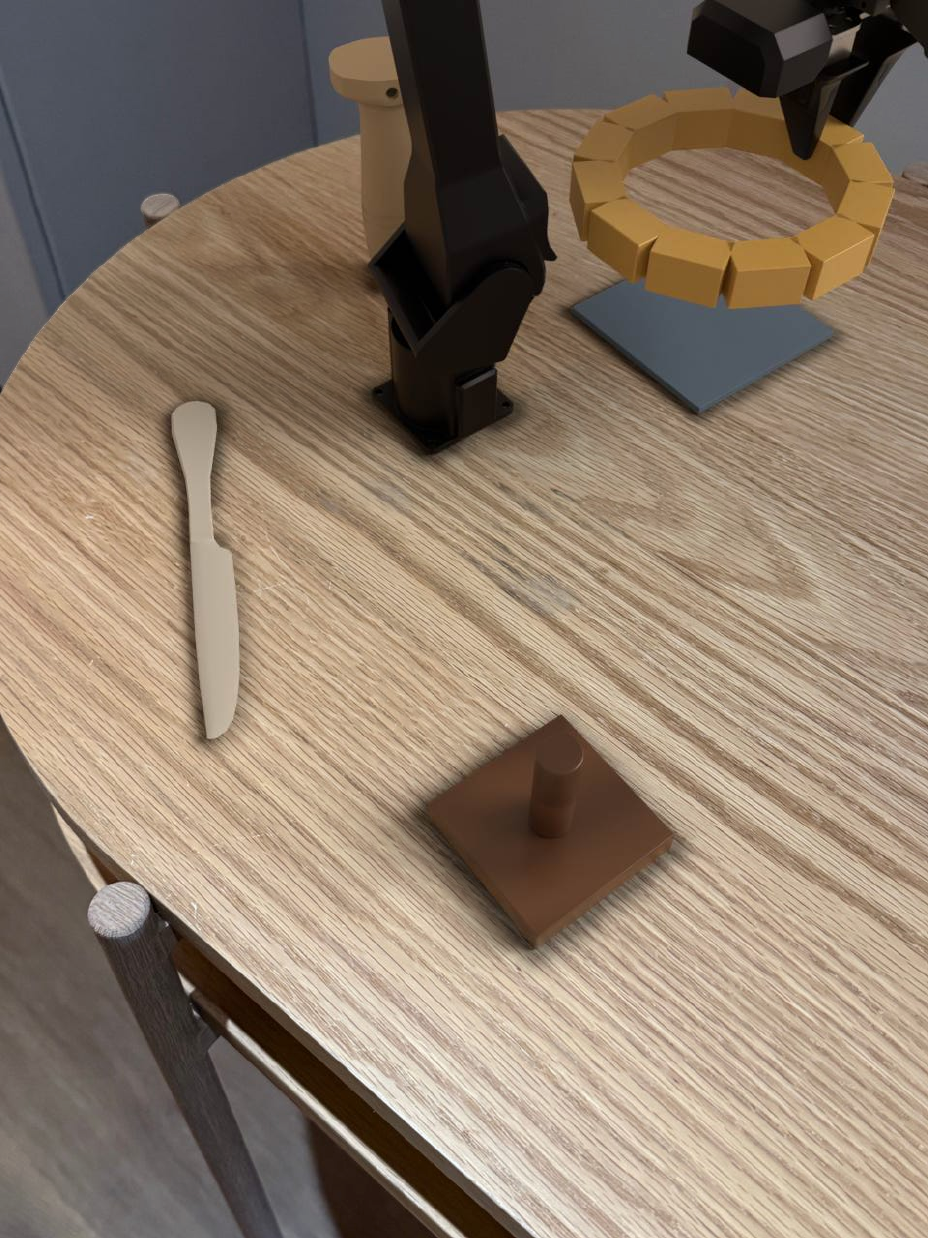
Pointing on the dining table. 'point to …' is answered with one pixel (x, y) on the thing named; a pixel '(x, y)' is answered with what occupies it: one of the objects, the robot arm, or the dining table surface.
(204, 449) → the butter knife
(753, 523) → the dining table surface
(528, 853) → the post
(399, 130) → the handle
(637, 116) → the ring
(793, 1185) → the dining table surface
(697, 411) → the mat
